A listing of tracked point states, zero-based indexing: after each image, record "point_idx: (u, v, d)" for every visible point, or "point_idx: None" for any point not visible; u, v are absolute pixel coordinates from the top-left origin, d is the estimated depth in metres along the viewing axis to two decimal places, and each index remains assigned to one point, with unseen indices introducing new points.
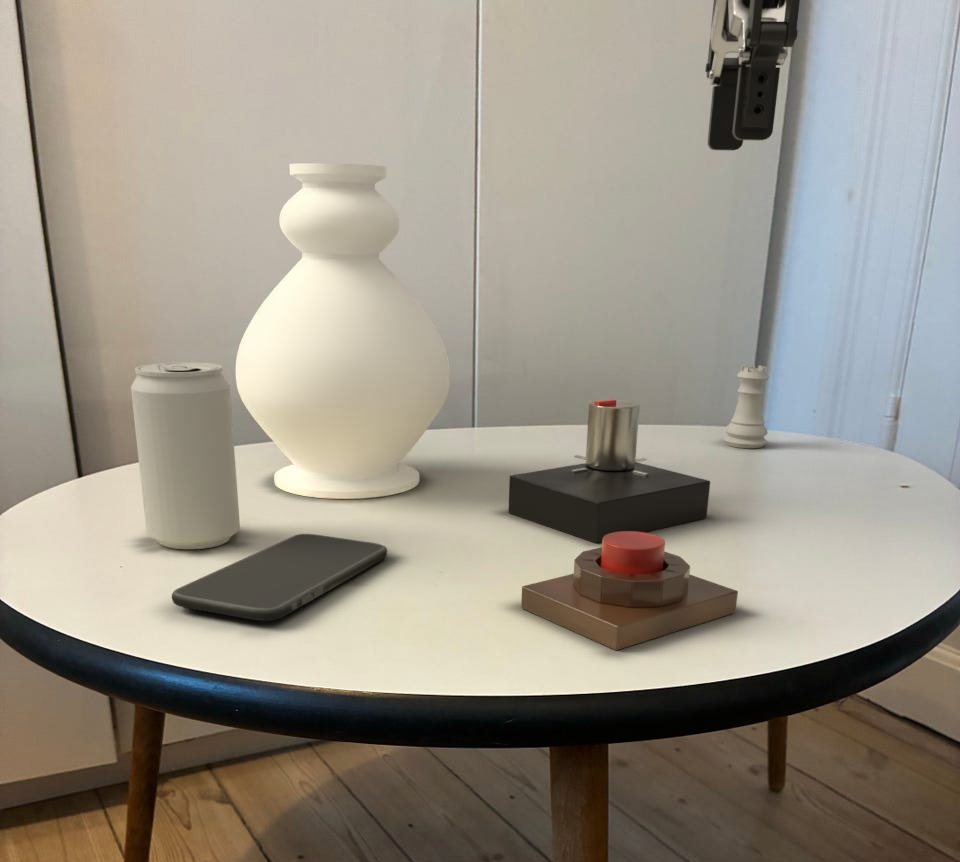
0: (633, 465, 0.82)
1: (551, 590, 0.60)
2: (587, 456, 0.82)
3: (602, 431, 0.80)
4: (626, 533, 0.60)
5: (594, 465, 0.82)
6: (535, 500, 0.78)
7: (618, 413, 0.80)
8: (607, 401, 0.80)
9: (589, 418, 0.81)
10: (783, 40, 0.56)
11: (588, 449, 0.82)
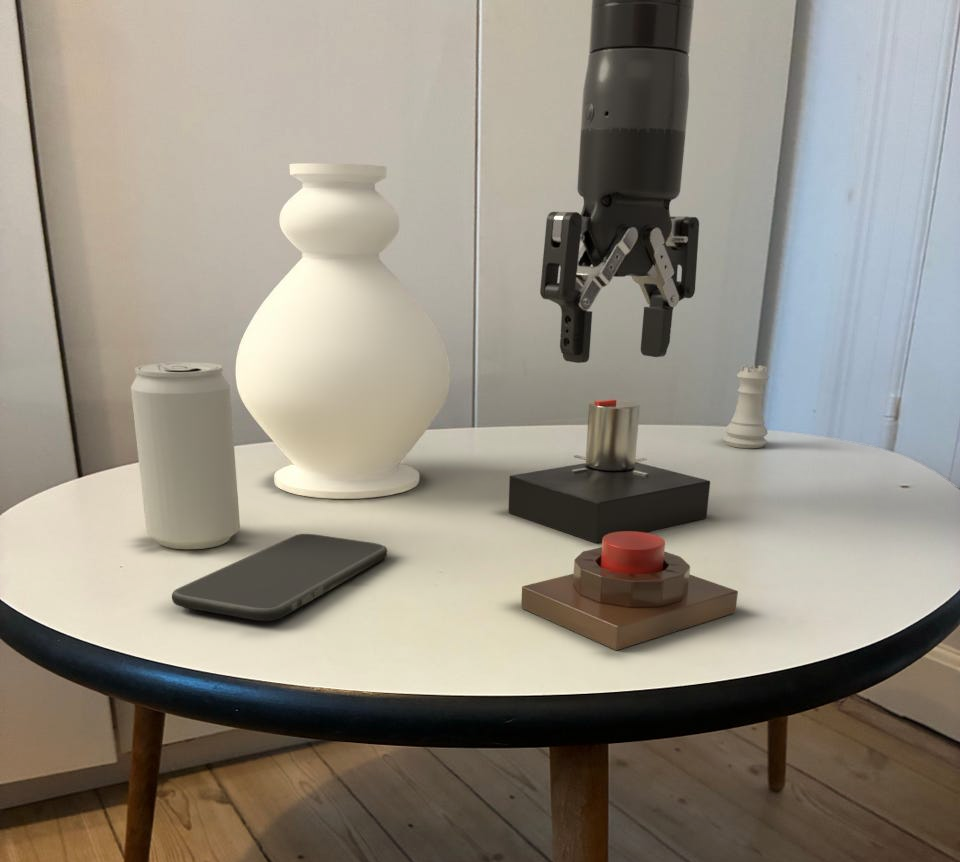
0: (633, 465, 0.82)
1: (551, 590, 0.60)
2: (587, 456, 0.82)
3: (602, 431, 0.80)
4: (626, 533, 0.60)
5: (594, 465, 0.82)
6: (535, 500, 0.78)
7: (618, 413, 0.80)
8: (607, 401, 0.80)
9: (589, 418, 0.81)
10: (558, 297, 0.73)
11: (588, 449, 0.82)
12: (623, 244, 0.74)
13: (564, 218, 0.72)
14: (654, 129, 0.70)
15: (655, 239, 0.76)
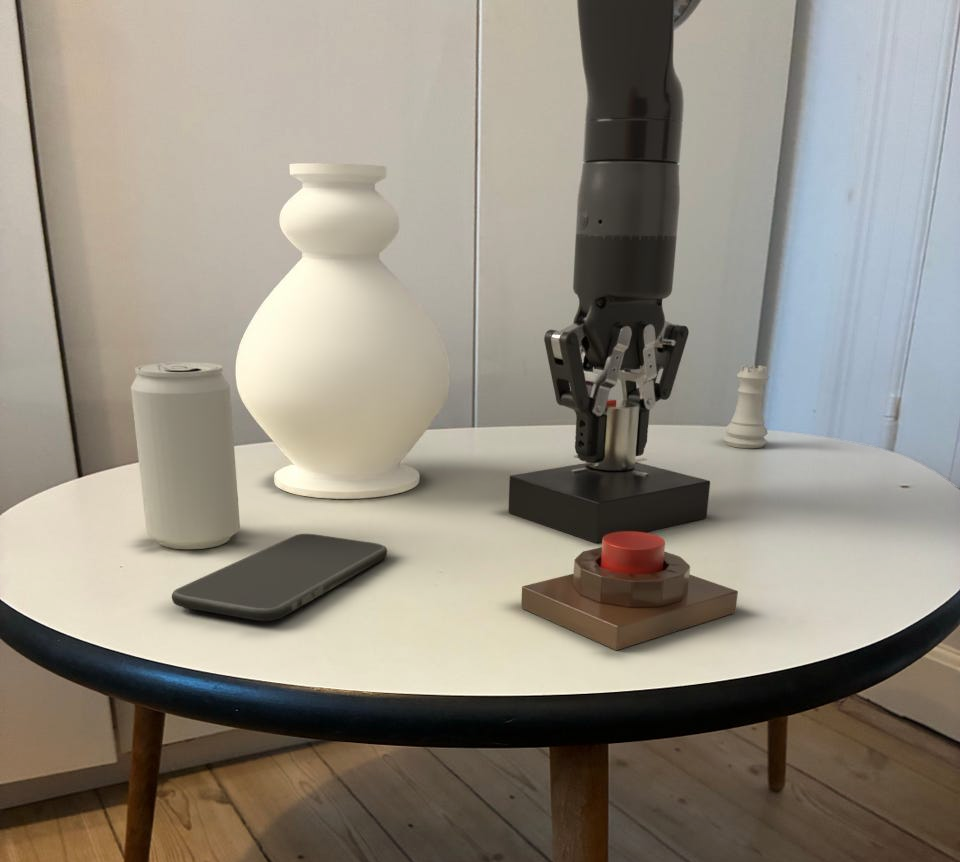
0: (633, 465, 0.82)
1: (551, 590, 0.60)
2: None
3: None
4: (626, 533, 0.60)
5: (594, 465, 0.82)
6: (535, 500, 0.78)
7: (618, 413, 0.80)
8: (607, 401, 0.80)
9: None
10: (573, 405, 0.78)
11: None
12: (617, 342, 0.77)
13: (560, 341, 0.75)
14: (646, 236, 0.73)
15: (648, 335, 0.79)
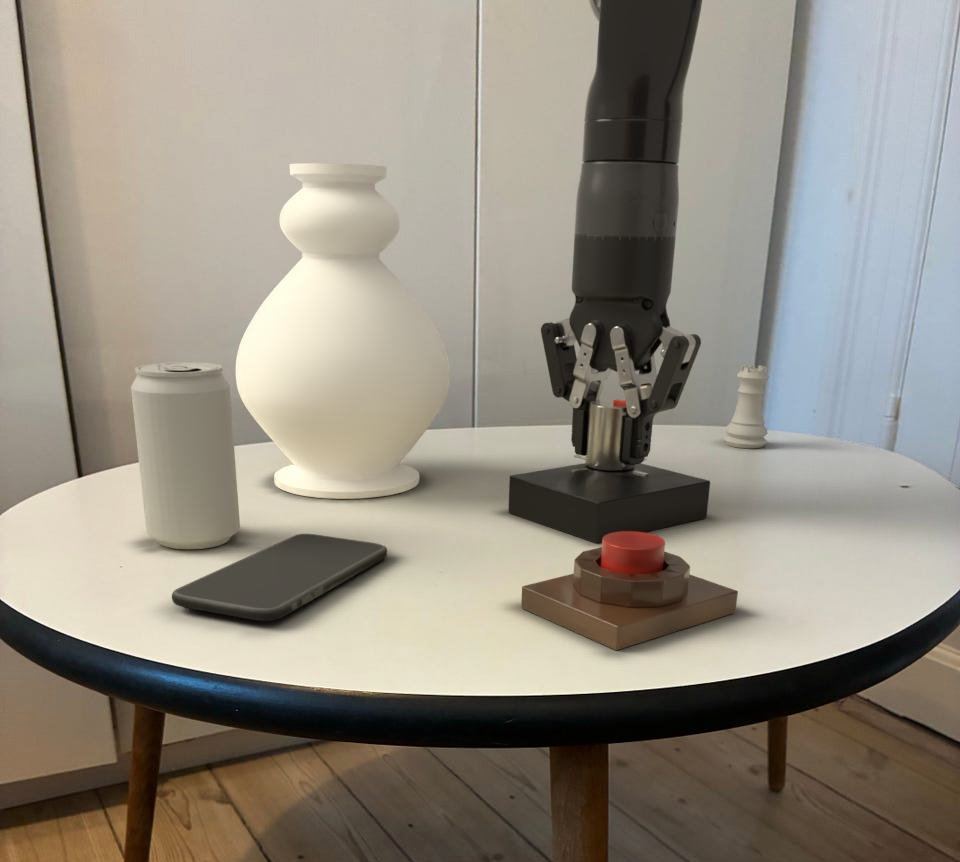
0: None
1: (551, 590, 0.60)
2: None
3: None
4: (626, 533, 0.60)
5: (633, 465, 0.82)
6: (535, 500, 0.78)
7: None
8: None
9: None
10: (671, 407, 0.78)
11: None
12: None
13: (696, 344, 0.76)
14: None
15: None
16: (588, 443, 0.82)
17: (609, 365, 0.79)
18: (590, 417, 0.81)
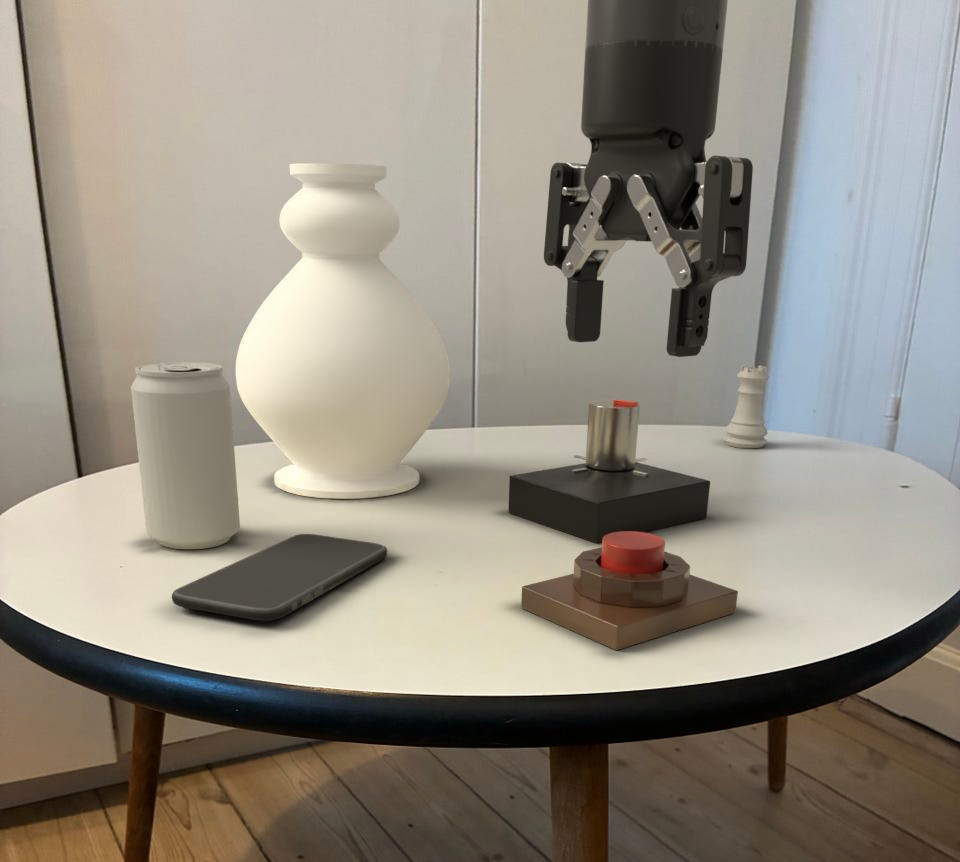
0: None
1: (551, 590, 0.60)
2: (626, 460, 0.81)
3: (637, 429, 0.82)
4: (626, 533, 0.60)
5: (633, 465, 0.82)
6: (535, 500, 0.78)
7: None
8: (626, 401, 0.81)
9: (627, 422, 0.80)
10: (736, 272, 0.56)
11: (627, 453, 0.81)
12: None
13: (745, 165, 0.54)
14: None
15: None
16: (588, 443, 0.82)
17: (628, 233, 0.59)
18: (590, 417, 0.81)
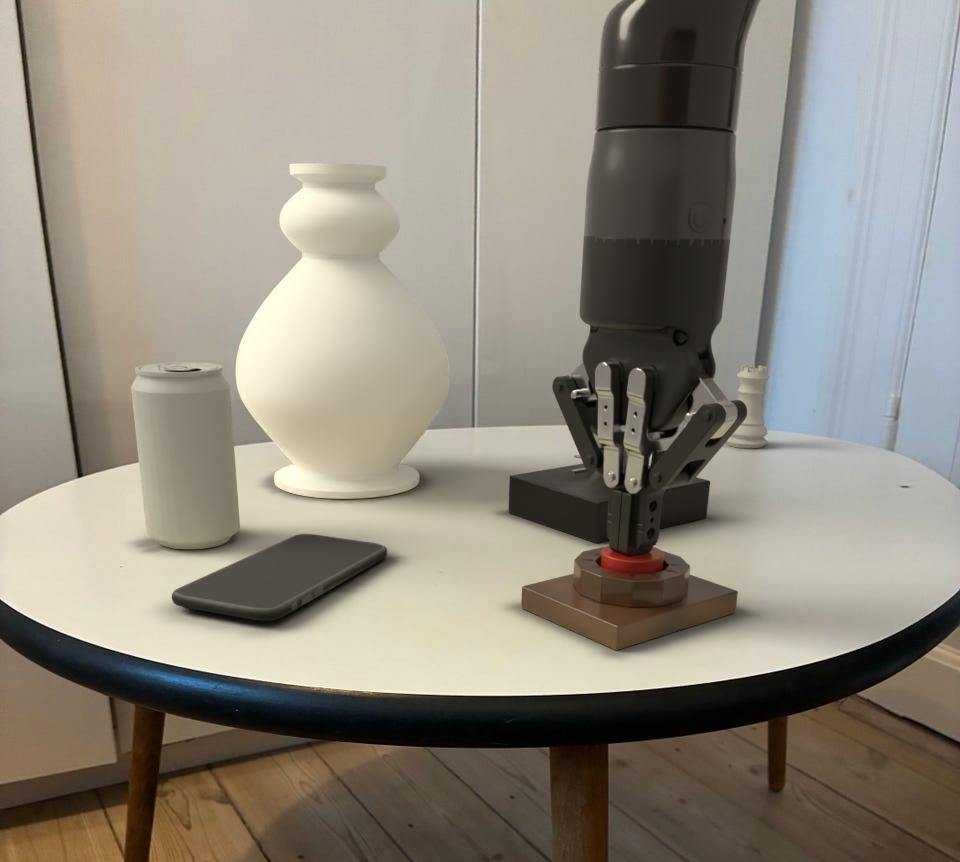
0: None
1: (551, 590, 0.60)
2: None
3: None
4: None
5: None
6: (535, 500, 0.78)
7: None
8: None
9: None
10: (685, 481, 0.56)
11: (627, 453, 0.81)
12: None
13: (738, 419, 0.52)
14: None
15: None
16: None
17: None
18: None
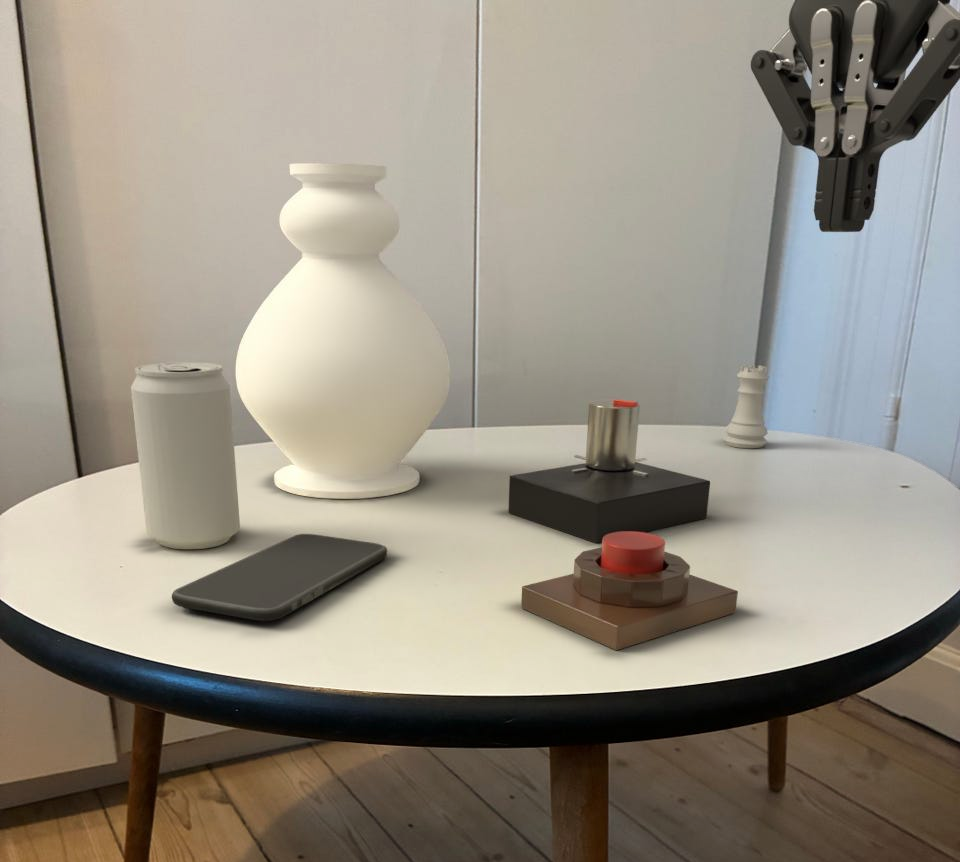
0: None
1: (551, 590, 0.60)
2: (626, 460, 0.81)
3: (637, 429, 0.82)
4: (626, 533, 0.60)
5: (633, 465, 0.82)
6: (535, 500, 0.78)
7: None
8: (626, 401, 0.81)
9: (627, 422, 0.80)
10: (910, 134, 0.53)
11: (627, 453, 0.81)
12: None
13: None
14: None
15: None
16: (588, 443, 0.82)
17: None
18: (590, 417, 0.81)
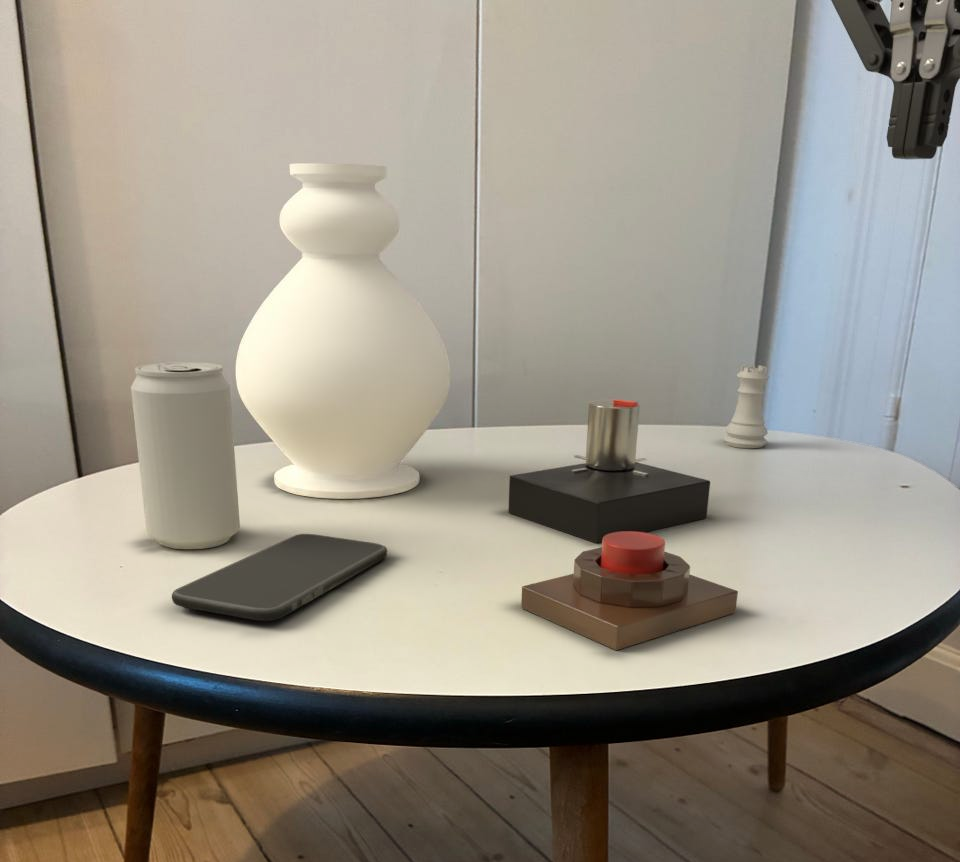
0: None
1: (551, 590, 0.60)
2: (626, 460, 0.81)
3: (637, 429, 0.82)
4: (626, 533, 0.60)
5: (633, 465, 0.82)
6: (535, 500, 0.78)
7: None
8: (626, 401, 0.81)
9: (627, 422, 0.80)
10: None
11: (627, 453, 0.81)
12: None
13: None
14: None
15: None
16: (588, 443, 0.82)
17: None
18: (590, 417, 0.81)
